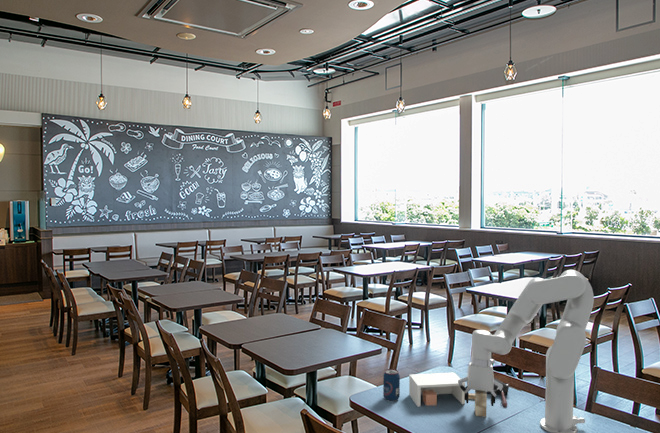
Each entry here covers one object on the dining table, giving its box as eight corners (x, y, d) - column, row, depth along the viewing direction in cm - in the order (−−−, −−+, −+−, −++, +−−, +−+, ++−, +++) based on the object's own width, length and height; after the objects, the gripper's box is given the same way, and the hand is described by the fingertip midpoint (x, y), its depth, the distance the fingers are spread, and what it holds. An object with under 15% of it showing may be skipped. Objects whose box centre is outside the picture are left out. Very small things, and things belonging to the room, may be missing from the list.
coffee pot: (486, 387, 218) (506, 392, 216) (484, 408, 202) (506, 414, 199) (489, 372, 217) (509, 377, 214) (488, 392, 200) (509, 398, 197)
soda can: (379, 398, 207) (380, 371, 206) (390, 394, 212) (390, 367, 211) (392, 403, 202) (392, 375, 201) (402, 399, 206) (403, 371, 206)
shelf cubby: (453, 392, 213) (454, 372, 213) (464, 404, 202) (465, 383, 201) (409, 394, 211) (409, 374, 210) (417, 406, 199) (417, 385, 198)
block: (433, 400, 205) (433, 390, 205) (436, 405, 201) (436, 394, 201) (422, 401, 205) (422, 390, 204) (426, 405, 200) (426, 395, 200)
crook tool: (482, 398, 207) (482, 378, 206) (486, 416, 190) (486, 394, 190) (465, 397, 209) (465, 376, 208) (467, 414, 192) (467, 392, 191)
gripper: (502, 360, 194) (501, 401, 195) (458, 356, 198) (456, 397, 198) (505, 367, 186) (503, 410, 187) (459, 362, 190) (457, 404, 191)
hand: (479, 403), depth 193 cm, fingers open, 9 cm apart
